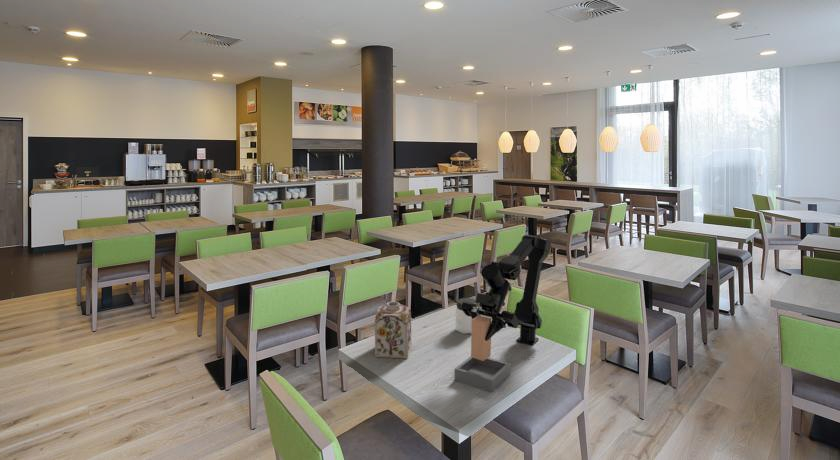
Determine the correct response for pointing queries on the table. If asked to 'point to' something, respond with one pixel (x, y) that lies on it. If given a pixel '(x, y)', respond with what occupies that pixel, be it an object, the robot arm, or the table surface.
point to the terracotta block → (480, 338)
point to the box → (482, 373)
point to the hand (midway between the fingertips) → (479, 338)
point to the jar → (463, 317)
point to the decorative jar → (393, 331)
